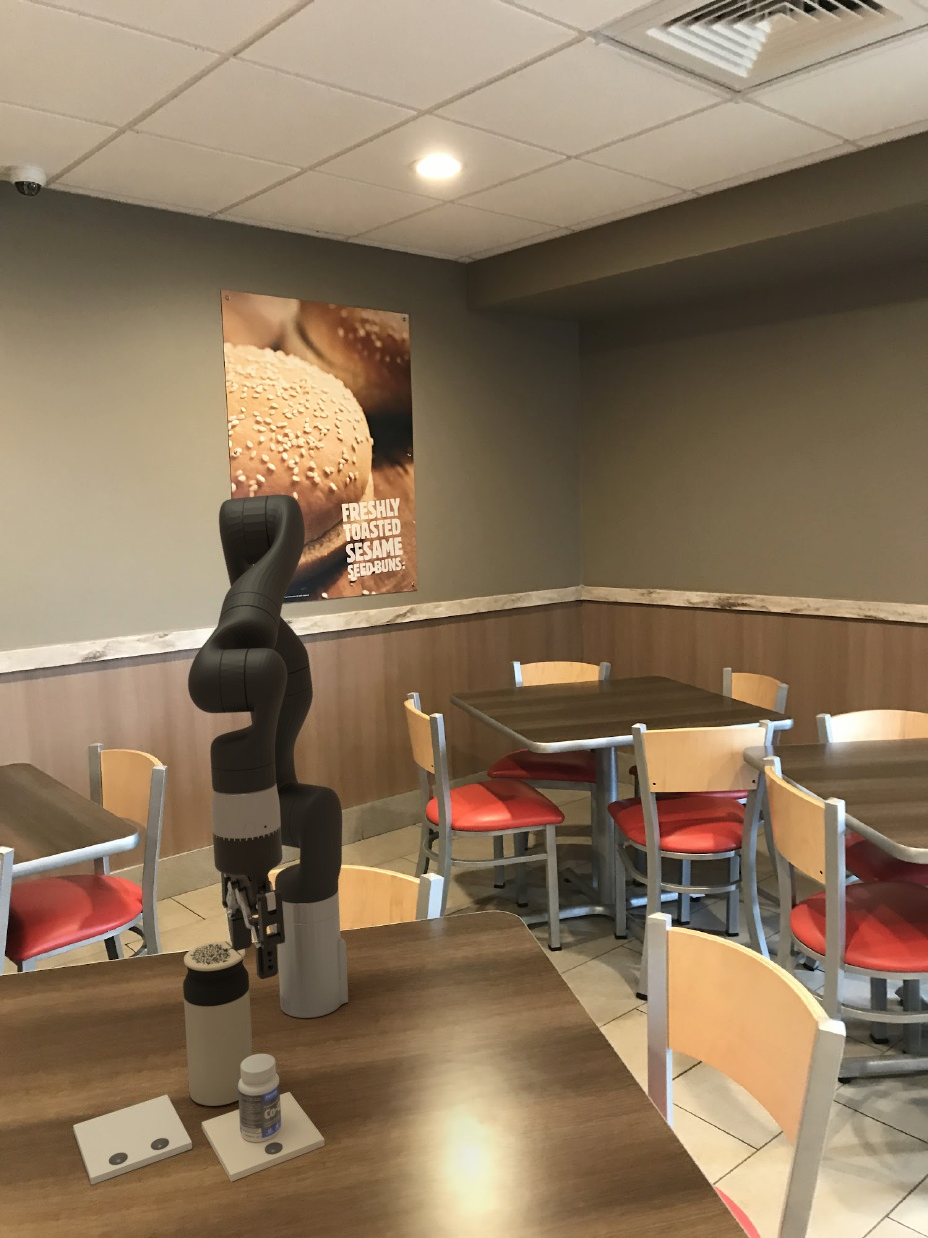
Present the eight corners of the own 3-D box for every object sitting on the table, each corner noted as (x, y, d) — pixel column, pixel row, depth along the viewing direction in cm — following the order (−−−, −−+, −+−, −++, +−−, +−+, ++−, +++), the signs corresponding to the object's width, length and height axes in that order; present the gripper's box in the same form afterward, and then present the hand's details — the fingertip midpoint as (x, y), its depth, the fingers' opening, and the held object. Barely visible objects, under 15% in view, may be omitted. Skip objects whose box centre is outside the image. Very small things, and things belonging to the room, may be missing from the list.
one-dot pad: (289, 1098, 120) (289, 1091, 120) (324, 1145, 111) (324, 1138, 110) (201, 1128, 114) (201, 1121, 114) (231, 1182, 105) (230, 1174, 105)
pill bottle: (272, 1145, 110) (268, 1076, 109) (233, 1141, 110) (229, 1072, 110) (287, 1119, 114) (284, 1053, 113) (250, 1115, 115) (247, 1049, 114)
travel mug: (197, 1116, 117) (188, 974, 115) (183, 1082, 124) (175, 948, 122) (261, 1096, 120) (254, 959, 118) (245, 1065, 127) (238, 935, 125)
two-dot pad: (167, 1100, 120) (166, 1093, 120) (192, 1148, 111) (191, 1141, 110) (73, 1131, 114) (73, 1124, 114) (91, 1185, 105) (91, 1177, 105)
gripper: (302, 835, 104) (309, 977, 106) (257, 803, 116) (264, 931, 118) (234, 849, 100) (243, 997, 102) (195, 815, 112) (203, 947, 114)
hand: (254, 961), depth 110 cm, fingers open, 8 cm apart
